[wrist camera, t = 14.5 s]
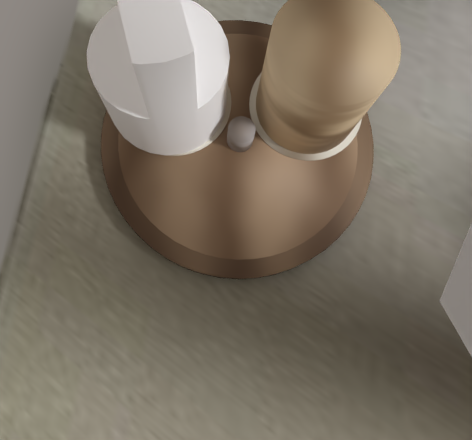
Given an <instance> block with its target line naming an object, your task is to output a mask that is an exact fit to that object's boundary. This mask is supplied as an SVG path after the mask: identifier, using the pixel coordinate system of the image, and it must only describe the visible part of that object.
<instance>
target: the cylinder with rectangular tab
mask: <svg viewBox="0 0 472 440" xmlns="http://www.w3.org/2000/svg"><path fill="white" fill-rule="evenodd" d="M117 2H118V5H116V6H114V7H113V8H111V9H110V10H109V11H108V12H107V13H106V14H105V15H104V16H103V17H102V18H101V19H100V20H99V21H98V23H97V25H96V27H95V28H94V30H93V32H92V34H91V35H90V39H89V44H88V48H87V66H88V71H89V73H90V76H91V79H92V81H93V84H94V86H95V88H96V90H97V92H98V94H99V96H100V98H101V100H102V102H103V103H104V105H105V107H106V109H107V111H108V113H109V115H110V117H111V119H112V121H113V123H114V125H115V126H116V128H117V129H118V130H119V132H120V133H121V134H122V136H123V137H124V138H125V139H126V140H127V141H129V142H130V143H131V144H133V145H134V146H135V147H137V148H139V149H142V150H144V151H147V152H149V153H153V154H160V155H176V154H183V153H186V152H188V151H191V150H194V149H197V148H198V147H199V146H201V145H202V144H204V143H205V142H207V141H208V140H209V139H210V138H211V137H212V136H213V135H214V133H215V132H216V131H217V130H218V129H219V127H220V124H221V122H222V120H223V118H224V115H225V109H226V102H227V89H228V76H229V62H230V54H229V47H228V40H227V38H226V36H225V34H224V31H223V29H222V27H221V25H220V24H219V23H218V21H217V20H216V19H215V18H214V17H213V15H212V14H211V13H210V12H209V11H207V10H206V9H204V8H203V7H202V6H200V5H199V4H198V3H196V2H194V1H191V0H117Z"/></svg>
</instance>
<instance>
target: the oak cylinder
mask: <svg viewBox="0 0 472 440" xmlns="http://www.w3.org/2000/svg"><path fill="white" fill-rule="evenodd" d="M400 57H401V44H400V38H399V35H398V31H397V29H396V27H395V25H394V23H393V21H392V20H391V18H390V17H389V15H388V14H387V13H386V11H385V10H384V9H383V8H382V7H381V6H380V5H379V4H377V3H376V2H375V1H374V0H288V1H287V2H286V3H285V4H284V5H283V6H282V8H281V9H280V10H279V11H278V13H277V15H276V17H275V19H274V21H273V24H272V28H271V32H270V37H269V41H268V46H267V51H266V55H265V60H264V64H263V69H262V73H261V78H260V83H259V87H258V92H257V96H256V112H257V117H258V119H259V122H260V124H261V126H262V128H263V129H264V131H265V132H266V134H267V135H268V136H269V137H270V138H271V139H272V140H273V141H274V142H275V143H277V144H278V145H280V146H281V147H283V148H285V149H287V150H290V151H293V152H296V153H301V154H317V153H322V152H326V151H328V150H331V149H333V148H334V147H336V146H338V145H339V144H340V143H341V142H343V141H344V140H345V139H346V137H347V136H348V135H349V134H350V132H351V131H352V130H353V129H354V127H355V126H356V125H357V124H358V122H359V121H360V120H361V119H362V117H363V116H364V115H365V114H366V112H367V111H368V110H369V109H370V107H371V106H372V105H373V104H374V102H375V101H376V100H377V99H378V97H379V96H380V95H381V93H382V92H383V91H384V90H385V88H386V87H387V86H388V85H389V83H390V82H391V81H392V79H393V78H394V76H395V74H396V72H397V70H398V66H399V63H400Z"/></svg>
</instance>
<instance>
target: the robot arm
mask: <svg viewBox="0 0 472 440" xmlns="http://www.w3.org/2000/svg"><path fill="white" fill-rule="evenodd" d="M440 303H441V305H442V306H443V308H444V310H445V312H446V313H447V315H448V317H449V318H450V320H451V322H452V324H453V325H454V327H455V329H456V331H457V332H458V334H459V336H460V338H461V339H462V341H463V343H464V345H465V346H466V348H467V350H468V352H469V353H470V355H471V357H472V223H471V225H470V228H469V230H468V232H467V235H466V237H465V240H464V242H463V245H462V247H461V250H460V252H459V254H458V257H457V259H456V262H455V264H454V267H453V269H452V272H451V274H450V276H449V279H448V281H447V284H446V286H445V289H444V291H443V294H442V296H441V298H440Z"/></svg>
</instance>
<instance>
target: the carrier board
mask: <svg viewBox="0 0 472 440" xmlns="http://www.w3.org/2000/svg"><path fill="white" fill-rule="evenodd" d="M218 23H219V24H220V25H221V27H222V29H223V31H224V34H225V36H226V38H227V40H228V47H229V54H230V62H229V76H228V89H227V102H226V109H225V115H224V118H223V120H222V122H221V124H220V127H219V129H218V130H217V131H216V132H215V133H214V135H213V136H212V137H211V138H210V139H209V140H208V141H207V142H205V143H204V144H202V145H201V146H199V147H198V148H197V149H194V150H191V151H188V152H186V153H183V154H176V155H160V154H153V153H149V152H147V151H144V150H142V149H139V148H137V147H135V146H134V145H133V144H131V143H130V142H129V141H127V140H126V139H125V138H124V137H123V136H122V134H121V133H120V132H119V130H118V129H117V128H116V126H115V125H114V123H113V121H112V119H111V117H110V115H109V113H108V111H107V110H106V113H105V117H104V121H103V127H102V134H101V157H102V164H103V171H104V175H105V178H106V182H107V185H108V188H109V191H110V193H111V195H112V197H113V200H114V202H115V204H116V206H117V207H118V209H119V211H120V212H121V214H122V216H123V217H124V219H125V220H126V221H127V222H128V224H129V225H130V226H131V227H132V229H133V230H134V231H135V232H136V233H137V234H138V235H139V236H140V237H141V238H142V239H143V240H144V241H145V242H146V243H147V244H148V245H149V246H150V247H151V248H153V249H154V250H155V251H157V252H158V253H160V254H161V255H163V256H164V257H165V258H167V259H169V260H171V261H172V262H174V263H176V264H178V265H180V266H182V267H184V268H187V269H190V270H193V271H195V272H198V273H201V274H205V275H210V276H215V277H220V278H232V279H246V278H258V277H264V276H269V275H274V274H277V273H280V272H283V271H286V270H289V269H292V268H294V267H296V266H298V265H300V264H302V263H304V262H306V261H308V260H310V259H312V258H313V257H315V256H316V255H318V254H319V253H321V252H322V251H324V250H325V249H326V248H328V247H329V246H330V245H331V244H332V243H333V242H334V241H335V240H337V239H338V238H339V237H340V235H341V234H342V233H343V232H344V231H345V230H346V228H347V227H348V226H349V225H350V223H351V222H352V220H353V219H354V217H355V216H356V214H357V212H358V211H359V209H360V207H361V205H362V202H363V200H364V198H365V196H366V193H367V190H368V186H369V183H370V180H371V174H372V167H373V137H372V129H371V125H370V122H369V118H368V114H367V112H366V114H365V115H364V116H363V117H362V119H361V120H360V121H359V122H358V124H357V125H356V126H355V127H354V129H353V130H352V131H351V132H350V134H349V135H348V136H347V137H346V139H345V140H344V141H343V142H341V143H340V144H339V145H338V146H336V147H334V148H333V149H331V150H328V151H326V152H322V153H317V154H301V153H296V152H293V151H290V150H287V149H285V148H283V147H281V146H280V145H278V144H277V143H275V142H274V141H273V140H272V139H271V138H270V137H269V136H268V135H267V134H266V132H265V131H264V129H263V128H262V126H261V124H260V122H259V119H258V117H257V112H256V96H257V92H258V87H259V83H260V78H261V73H262V69H263V64H264V60H265V55H266V51H267V46H268V41H269V37H270V32H271V28H272V25H268V24H263V23H259V22H251V21H242V20H228V21H218Z"/></svg>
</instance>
